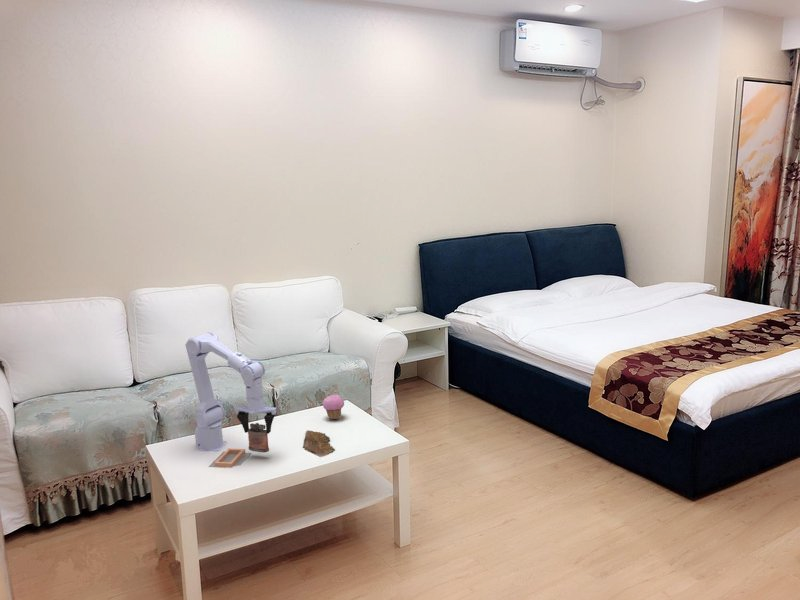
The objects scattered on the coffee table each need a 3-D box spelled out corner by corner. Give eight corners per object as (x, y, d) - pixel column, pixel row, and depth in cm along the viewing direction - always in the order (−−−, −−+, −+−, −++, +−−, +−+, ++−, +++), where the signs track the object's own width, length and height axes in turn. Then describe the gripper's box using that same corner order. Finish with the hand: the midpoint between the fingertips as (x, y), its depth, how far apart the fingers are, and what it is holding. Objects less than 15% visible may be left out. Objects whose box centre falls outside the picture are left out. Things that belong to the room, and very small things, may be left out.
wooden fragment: (337, 454, 222) (336, 452, 221) (307, 462, 219) (307, 459, 218) (324, 427, 246) (323, 425, 245) (297, 434, 243) (296, 431, 242)
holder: (208, 468, 216) (208, 462, 215) (223, 452, 227) (223, 447, 227) (237, 469, 214) (237, 464, 213) (251, 454, 225) (251, 449, 225)
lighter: (246, 450, 221) (244, 424, 219) (252, 446, 224) (250, 420, 222) (265, 453, 218) (263, 427, 216) (271, 449, 221) (269, 423, 219)
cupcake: (345, 413, 261) (344, 391, 259) (344, 421, 252) (342, 399, 250) (324, 414, 261) (323, 392, 259) (322, 422, 252) (321, 399, 250)
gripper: (230, 399, 214) (234, 435, 217) (270, 401, 212) (272, 437, 215) (239, 392, 221) (242, 427, 224) (277, 393, 219) (279, 429, 221)
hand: (257, 431), depth 220 cm, fingers closed on lighter, 7 cm apart
